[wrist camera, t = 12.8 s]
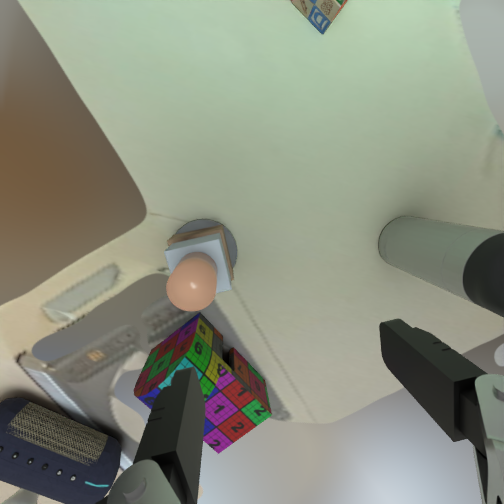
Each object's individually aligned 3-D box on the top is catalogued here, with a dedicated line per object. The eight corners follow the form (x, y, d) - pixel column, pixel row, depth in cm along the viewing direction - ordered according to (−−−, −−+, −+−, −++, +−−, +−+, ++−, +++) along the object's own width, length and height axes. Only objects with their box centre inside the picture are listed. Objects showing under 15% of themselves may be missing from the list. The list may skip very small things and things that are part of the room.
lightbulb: (46, 485, 52) (0, 560, 42) (20, 468, 51) (-34, 542, 40) (68, 468, 52) (27, 540, 41) (43, 451, 50) (-6, 521, 40)
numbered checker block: (129, 366, 48) (91, 437, 34) (200, 311, 47) (189, 362, 33) (216, 443, 54) (213, 529, 40) (281, 396, 53) (300, 469, 39)
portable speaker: (138, 433, 52) (118, 490, 42) (112, 467, 53) (87, 530, 43) (12, 376, 46) (-44, 426, 37) (-13, 416, 48) (-74, 474, 38)
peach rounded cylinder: (212, 248, 33) (210, 260, 27) (221, 285, 34) (220, 305, 28) (171, 256, 33) (160, 271, 27) (182, 294, 34) (173, 315, 28)
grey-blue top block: (219, 232, 38) (218, 239, 33) (230, 277, 39) (231, 289, 34) (172, 243, 37) (164, 251, 32) (185, 287, 39) (179, 301, 34)
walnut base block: (222, 224, 42) (221, 229, 37) (232, 270, 44) (233, 280, 39) (173, 234, 42) (167, 240, 37) (186, 280, 44) (181, 291, 39)
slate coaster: (229, 212, 43) (229, 213, 42) (242, 274, 46) (243, 276, 45) (163, 226, 42) (161, 227, 41) (181, 288, 45) (180, 290, 44)
